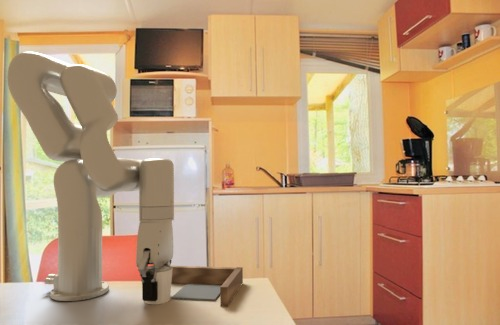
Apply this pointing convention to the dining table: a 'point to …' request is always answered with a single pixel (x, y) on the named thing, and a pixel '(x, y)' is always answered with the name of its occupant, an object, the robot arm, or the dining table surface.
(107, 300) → the dining table surface
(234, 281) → the wooden corner fence
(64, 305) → the dining table surface
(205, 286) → the pad
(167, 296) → the white cup
